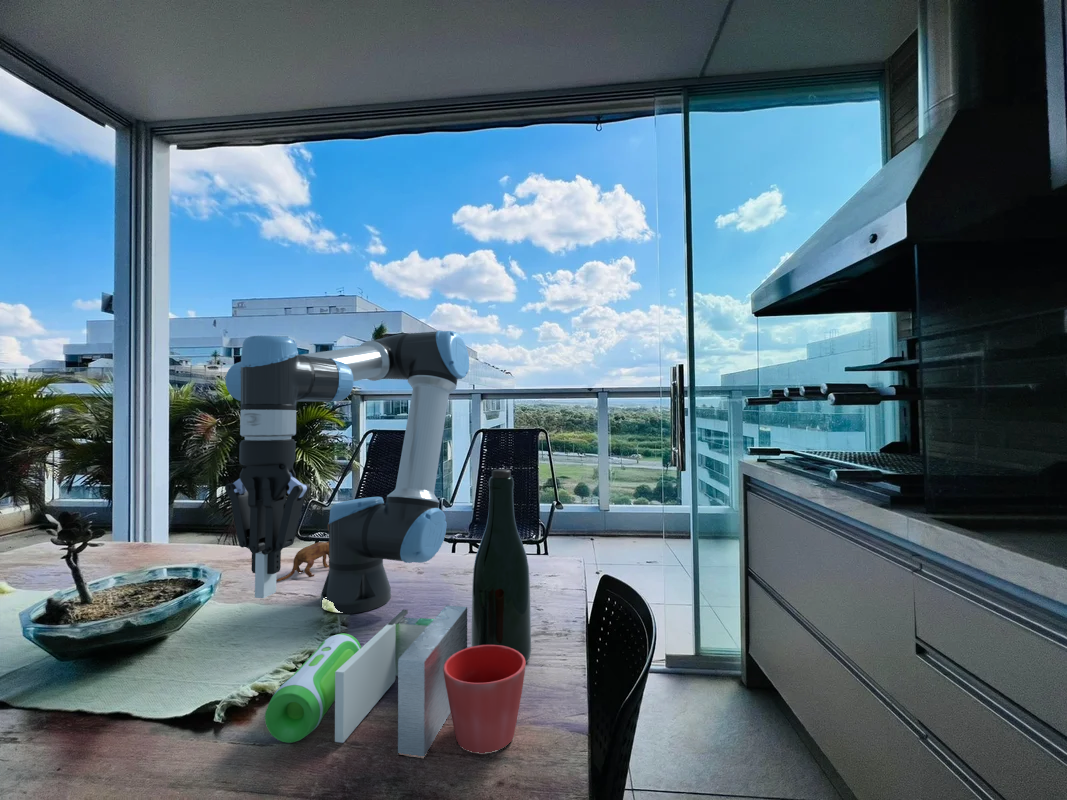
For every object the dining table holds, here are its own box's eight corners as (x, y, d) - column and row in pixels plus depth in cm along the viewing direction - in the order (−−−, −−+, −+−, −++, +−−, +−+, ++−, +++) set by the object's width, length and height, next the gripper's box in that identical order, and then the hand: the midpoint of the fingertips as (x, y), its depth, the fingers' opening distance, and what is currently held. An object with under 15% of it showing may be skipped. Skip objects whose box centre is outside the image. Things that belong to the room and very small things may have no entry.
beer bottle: (526, 642, 92) (525, 465, 93) (535, 670, 82) (535, 472, 83) (469, 646, 91) (470, 467, 92) (472, 676, 80) (473, 473, 81)
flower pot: (447, 713, 71) (447, 645, 71) (523, 709, 72) (523, 641, 72) (439, 766, 60) (439, 685, 60) (528, 760, 61) (528, 681, 61)
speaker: (321, 675, 81) (321, 629, 82) (365, 675, 81) (365, 629, 82) (260, 747, 64) (261, 688, 64) (316, 748, 64) (316, 689, 64)
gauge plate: (334, 741, 64) (335, 670, 64) (401, 664, 84) (402, 609, 84) (343, 742, 64) (343, 670, 64) (408, 664, 84) (408, 609, 84)
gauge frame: (325, 746, 64) (326, 652, 64) (395, 667, 83) (395, 595, 84) (424, 758, 61) (424, 661, 62) (471, 674, 81) (471, 601, 81)
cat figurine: (282, 588, 123) (280, 534, 123) (269, 583, 127) (267, 530, 127) (347, 567, 138) (345, 518, 137) (333, 562, 142) (332, 515, 141)
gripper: (211, 438, 73) (207, 601, 72) (290, 439, 70) (287, 607, 70) (248, 436, 80) (246, 583, 79) (321, 437, 78) (319, 588, 77)
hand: (265, 594), depth 74 cm, fingers closed
